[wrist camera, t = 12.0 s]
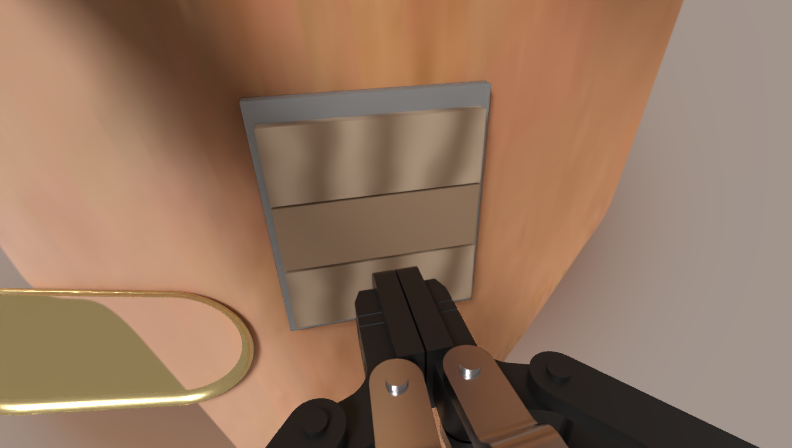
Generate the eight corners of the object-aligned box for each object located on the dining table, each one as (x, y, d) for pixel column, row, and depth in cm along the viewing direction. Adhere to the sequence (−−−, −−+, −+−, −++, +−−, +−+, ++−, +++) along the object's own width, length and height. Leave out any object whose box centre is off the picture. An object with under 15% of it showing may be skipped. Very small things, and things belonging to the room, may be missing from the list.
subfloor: (290, 322, 49) (290, 340, 47) (241, 98, 36) (236, 105, 33) (467, 292, 54) (476, 306, 51) (484, 80, 40) (498, 86, 37)
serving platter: (-137, 277, 36) (-154, 287, 35) (257, 286, 46) (256, 294, 45) (-69, 408, 45) (-80, 421, 43) (252, 391, 55) (251, 401, 53)
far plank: (296, 319, 47) (296, 328, 46) (285, 266, 43) (284, 274, 42) (466, 290, 51) (471, 297, 50) (469, 239, 47) (474, 245, 46)
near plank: (271, 200, 39) (270, 207, 38) (255, 124, 35) (254, 128, 34) (474, 176, 43) (480, 182, 42) (480, 105, 39) (486, 109, 38)
